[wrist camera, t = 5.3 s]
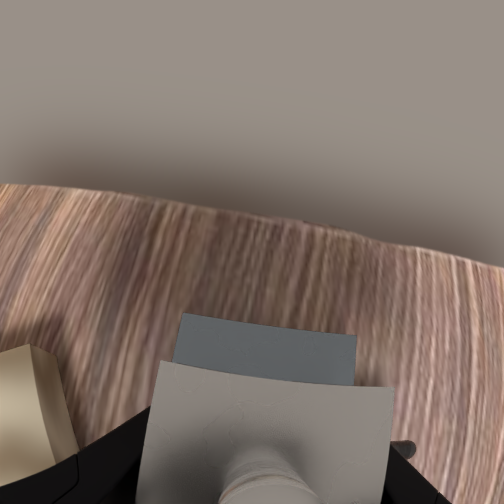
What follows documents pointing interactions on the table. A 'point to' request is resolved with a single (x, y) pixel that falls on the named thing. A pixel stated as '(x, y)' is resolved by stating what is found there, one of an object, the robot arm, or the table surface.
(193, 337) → the gray stepped fixture
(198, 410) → the gray knob block
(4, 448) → the beige wooden slab
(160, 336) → the table surface
